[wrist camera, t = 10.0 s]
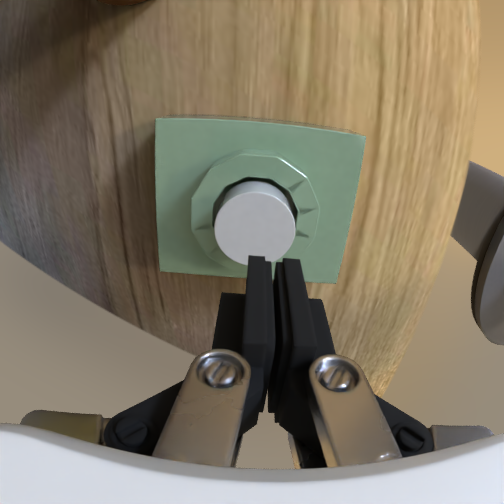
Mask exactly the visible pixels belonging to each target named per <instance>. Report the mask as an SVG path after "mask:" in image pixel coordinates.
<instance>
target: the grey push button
mask: <svg viewBox="0 0 504 504" xmlns="http://www.w3.org/2000/svg"><path fill="white" fill-rule="evenodd" d="M295 230H296V228H295V221H294V217H293V214H292V210H291V207H290V204H289V201H288V200H287V198H286V196H285V195H284V194H283V193H282V192H281V191H280V190H279V189H278V188H277V187H275V186H273V185H271V184H269V183H266V182H262V181H247V182H243V183H241V184H238V185H236V186H234V187H233V188H232V189H230V190H229V191H228V192H227V193H226V194H225V196H224V197H223V199H222V200H221V203H220V205H219V209H218V212H217V216H216V219H215V223H214V234H215V239H216V242H217V244H218V246H219V247H220V249H221V250H222V251H223V253H224V254H225V255H226V256H228V257H229V258H230V259H232V260H233V261H235V262H237V263H240V264H243V265H248V256H249V255H253V256H265V261H271V263H272V262H274V261H276V260H278V259H279V258H281V257H282V256H283V255H284V254H285V253H286V252H287V251H288V250H289V248H290V247H291V245H292V243H293V240H294V237H295Z"/></svg>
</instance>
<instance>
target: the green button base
mask: <svg viewBox="0 0 504 504" xmlns="http://www.w3.org/2000/svg"><path fill="white" fill-rule="evenodd" d="M365 141H366V136H364V135H361V134H359V133H357V132H354V131H352V130H348V129H342V128H336V127H330V126H323V125H316V124H309V123H301V122H292V121H283V120H274V119H263V118H250V117H235V116H215V115H167V116H163V117H160V118H156V119H155V196H156V221H157V239H158V254H159V267H160V271H163V272H175V273H187V274H199V275H211V276H224V277H238V278H247V268H248V265H243V264H240V263H237V262H235V261H233V260H232V259H230V258H229V257H228V256H226V255H225V254H224V253H223V251H222V250H221V249H220V247H219V246H218V244H217V242H216V239H215V234H214V223H215V219H216V216H217V212H218V209H219V205H220V203H221V200H222V199H223V197H224V196H225V194H226V193H227V192H228V191H229V190H230V189H232V188H233V187H234V186H236V185H238V184H241V183H243V182H247V181H262V182H266V183H269V184H271V185H273V186H275V187H277V188H278V189H279V190H280V191H281V192H282V193H283V194H284V195H285V196H286V198H287V200H288V201H289V204H290V207H291V210H292V214H293V217H294V221H295V228H296V230H295V237H294V240H293V243H292V245H291V247H290V248H289V250H288V251H287V252H286V253H285V254H284V255H283V256H282V257H281V258H279V259H278V260H276V261H274V262H272V280H274V273H275V265H276V262H282V259H283V258H292V259H300V262H301V266H302V271H303V275H304V280H305V282H315V283H333V284H336V282H337V278H338V274H339V270H340V266H341V262H342V258H343V253H344V249H345V245H346V240H347V236H348V232H349V227H350V222H351V218H352V213H353V208H354V203H355V198H356V193H357V188H358V182H359V177H360V171H361V166H362V160H363V154H364V148H365Z"/></svg>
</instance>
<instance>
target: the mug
mask: <svg viewBox="0 0 504 504" xmlns="http://www.w3.org/2000/svg"><path fill="white" fill-rule="evenodd" d="M97 1H100V2H102V3H106V4H109V5H131V4H136V3H140V2H143V1H145V0H97Z"/></svg>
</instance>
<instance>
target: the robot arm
mask: <svg viewBox="0 0 504 504" xmlns="http://www.w3.org/2000/svg"><path fill="white" fill-rule="evenodd" d="M267 389H268V412H269V413H275V414H274V415H275V423H279V425H280V426H281V427H283V428H284V429H285V430H286V431H288V440H289V445H290V449H291V453H292V458H293V462H294V466H295V469H251V468H236V463H237V460H238V456H239V452H240V447H241V443H242V439H243V434H244V433H245V432H247V431H248V430H249V429H251V428H252V427H254V426H255V425H256V424H257V420H258V414H259V412H263V409H264V404H265V399H266V394H267ZM0 504H504V433H503V434H498V435H494V434H493V433H492V431H491V430H490V429H488V428H486V427H484V426H443V425H432V426H431V427H430V428H426V427H425V426H424V425H423V424H422V423H420V422H419V421H417V420H415V419H414V418H412V417H410V416H409V415H407V414H406V413H404V412H402V411H401V410H399V409H397V408H396V407H394V406H393V405H391V404H389V403H388V402H386V401H384V400H383V399H381V398H380V397H378V396H377V395H375V394H374V393H373V391H372V389H371V386H370V384H369V382H368V380H367V378H366V376H365V374H364V372H363V370H362V369H361V367H360V366H359V365H358V364H357V363H356V362H355V361H353V360H352V359H350V358H348V357H346V356H342V355H337V354H336V353H335V349H334V345H333V341H332V337H331V333H330V329H329V325H328V321H327V317H326V313H325V309H324V305H323V302H322V300H321V299H309V298H308V294H307V290H306V285H305V280H304V275H303V271H302V266H301V262H300V259H292V258H283V259H282V262H276V265H275V273H274V280H272V263H271V261H265V256H253V255H249V256H248V268H247V280H246V293H245V294H236V293H224V292H222V293H221V298H220V304H219V310H218V316H217V321H216V327H215V333H214V339H213V345H212V350H208V351H205V352H203V353H201V354H200V355H198V356H197V357H196V358H195V359H194V361H193V362H192V363H191V365H190V368H189V370H188V372H187V375H186V377H185V379H184V380H183V381H181V382H179V383H177V384H175V385H173V386H172V387H170V388H168V389H166V390H164V391H162V392H161V393H158V394H156V395H155V396H153V397H151V398H149V399H147V400H145V401H143V402H141V403H139V404H137V405H135V406H133V407H131V408H129V409H127V410H125V411H123V412H120V413H118V414H117V415H115V416H114V417H112V418H103V417H102V415H97V414H80V413H67V412H55V411H46V410H34V411H32V412H30V413H28V414H27V415H26V416H25V417H24V418H23V419H22V421H21V423H20V424H11V423H0Z"/></svg>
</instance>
